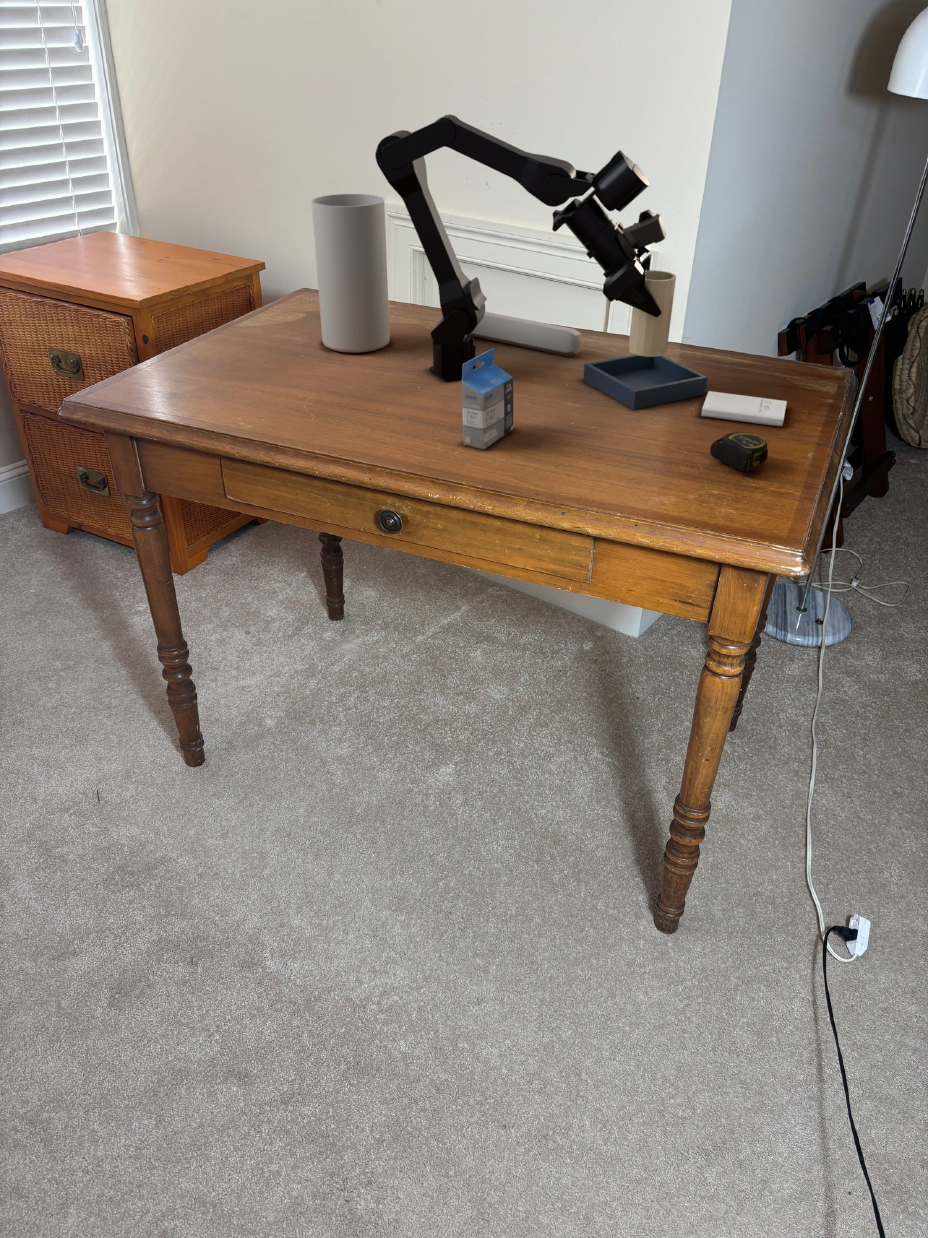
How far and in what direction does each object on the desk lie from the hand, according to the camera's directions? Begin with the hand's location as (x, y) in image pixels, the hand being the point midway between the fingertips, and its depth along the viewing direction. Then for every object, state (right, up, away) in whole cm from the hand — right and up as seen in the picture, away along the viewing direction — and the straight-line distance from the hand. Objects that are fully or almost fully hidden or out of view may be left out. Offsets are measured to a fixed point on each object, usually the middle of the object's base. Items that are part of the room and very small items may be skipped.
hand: (660, 309), depth 157 cm
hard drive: (+13, -17, 0) cm, 21 cm away
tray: (-1, -10, +9) cm, 14 cm away
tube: (-21, +2, +27) cm, 34 cm away
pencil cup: (-1, -5, +4) cm, 7 cm away
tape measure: (+8, -28, -17) cm, 33 cm away
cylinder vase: (-52, +2, +26) cm, 58 cm away
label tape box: (-28, -22, -9) cm, 37 cm away
